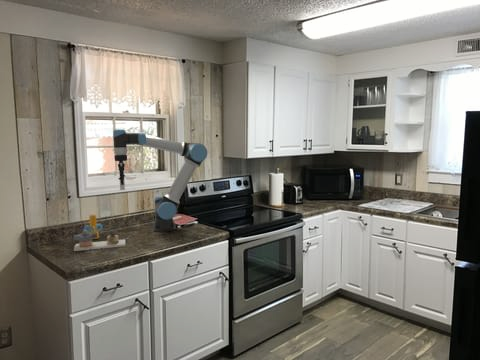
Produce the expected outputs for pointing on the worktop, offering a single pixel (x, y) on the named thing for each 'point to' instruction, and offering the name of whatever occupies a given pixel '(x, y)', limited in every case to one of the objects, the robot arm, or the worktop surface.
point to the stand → (112, 238)
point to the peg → (86, 243)
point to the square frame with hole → (85, 238)
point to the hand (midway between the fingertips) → (122, 188)
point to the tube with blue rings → (93, 226)
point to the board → (100, 245)
